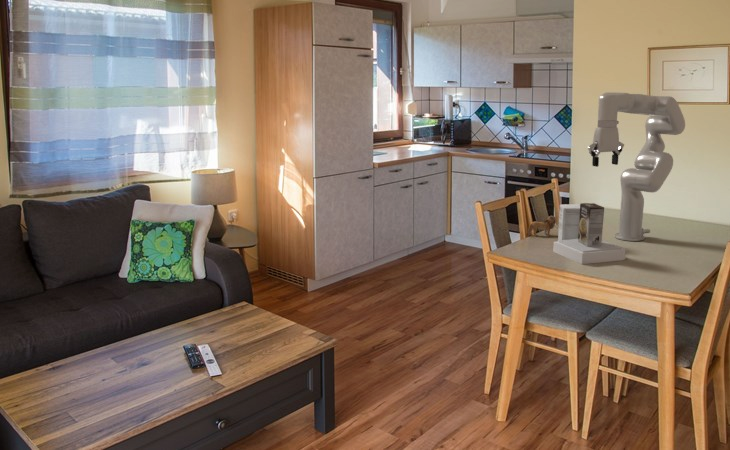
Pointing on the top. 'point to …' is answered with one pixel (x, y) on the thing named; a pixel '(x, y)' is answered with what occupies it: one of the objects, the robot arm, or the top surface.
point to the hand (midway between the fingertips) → (605, 165)
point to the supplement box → (568, 221)
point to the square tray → (588, 251)
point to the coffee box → (590, 224)
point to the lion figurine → (543, 226)
